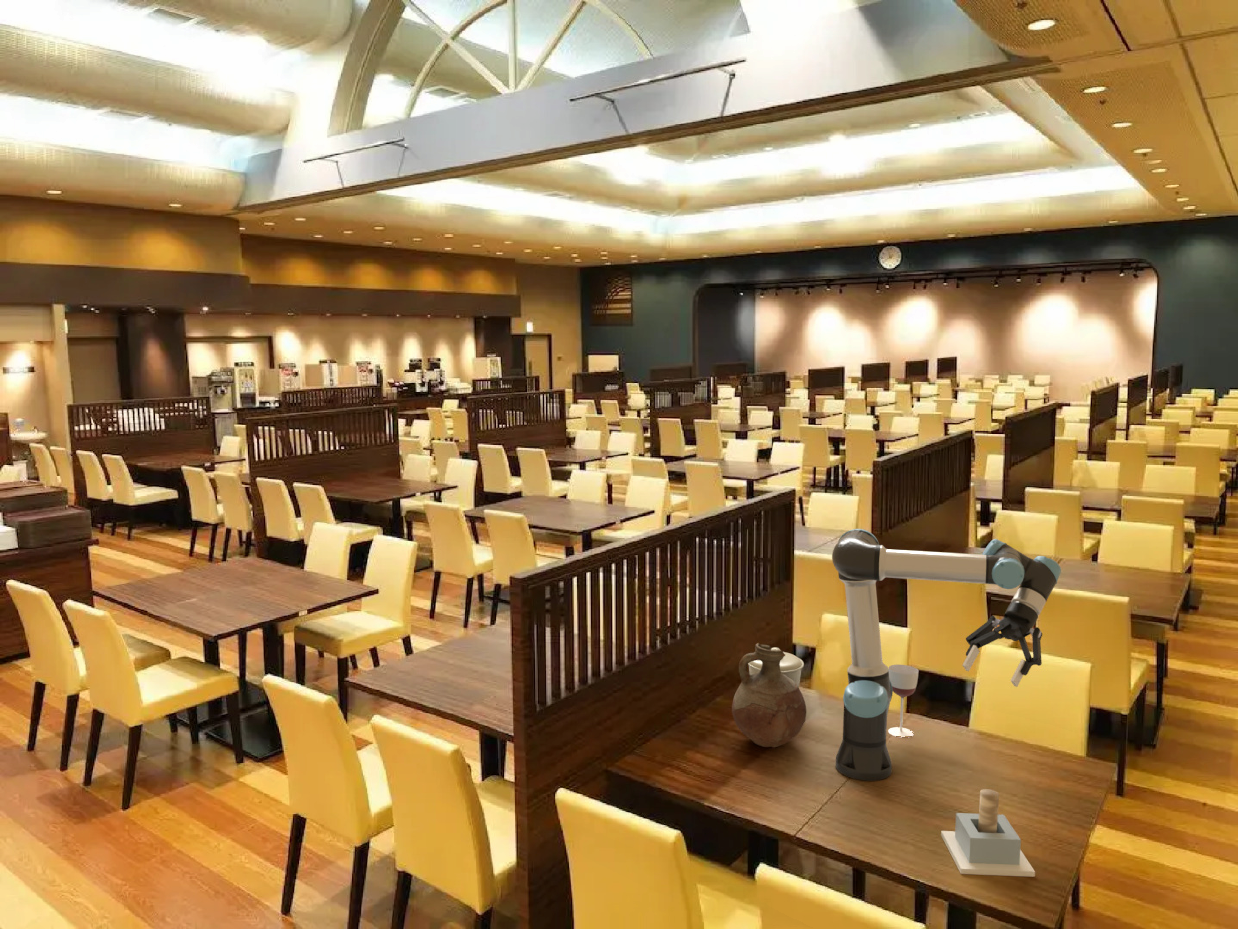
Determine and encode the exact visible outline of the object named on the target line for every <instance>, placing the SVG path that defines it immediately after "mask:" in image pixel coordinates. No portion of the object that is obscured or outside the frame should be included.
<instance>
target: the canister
mask: <svg viewBox="0 0 1238 929" xmlns="http://www.w3.org/2000/svg"><path fill="white" fill-rule="evenodd" d="M770 648H771V650H774V651H781V649H780V648H779V647H775V646H774V647H770ZM783 653H784V654H785V656H784V657H783V659H782V660H781V661H780V670H781V673H782V674H784V675H786V676H787V677H789V678H790V679H792V680H793V681H794V682H796V683H797V685H798V687H799V688H800V682H801V675H802V674H801V673H802V669H803V668H804V665H805V663H804V661H803V660H802V659H801V658H800V657H798V656H796V655H794V654H792V653H789V652H785V651H783ZM747 666H748V673H749V674H753V673H756V672H759V671H760V670H761V667H762V661H760V660H755V661H752V662H749V663H748V664H747Z"/></svg>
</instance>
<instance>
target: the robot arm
mask: <svg viewBox="0 0 1238 929" xmlns="http://www.w3.org/2000/svg"><path fill="white" fill-rule="evenodd" d="M831 560H832V564H833V566H834V567H835V570H836V571H837V573H838V579H839V581H841V583H843V584H844V592H845V600H846V601H845V603H846V610H847V611H846V613H847V621H848V622H847V623H848V633H849V635H848V636H849V643H850V646H849V647H850V656H851V664H850V665H849V666H848V667H847V678H848V681H847V682H848V685H846V687H845V688H844V693H843V695H842V696H843V698H842V699H843V700H842V701H843V715H842V716H843V717H842V720H843V722H842V740H841V742H840V745H839V748H838V751H837V753H836V756H835V768H836V770H837V771H838V772H839V773H840V774H842V775H844V776H846V777H848V778H851V779H853V780H854V779H855V780H859V781H864V782H865V781H868V782H869V781H871V782H873V781H881V780H884V779H886V778H889V777H890V776H891V774H892V770H893V769H892V768H893V765H892V760H891V756H890V754H889V751H888V750H889V749H888V747H887V730H888V729H887V728H888V726H887V724H888V714H889V708H890V704H891V701H892V697H893V693H894V692H893V690H892V685H891V682H890V679H889V666H887V665H886V664H885V663H884V662H883V652H882V642H881V631H880V621H879V620H880V619H879V618H880V617H879V609H878V597H877V596H878V595H877V586H876V583H877V582H878V581H883V580H884V579H885V578H890V579H891V578H893V579H907V580H908V579H909V580H923V581H924V580H925V581H937V582H938V581H939V582H954V583H969V584H972V583H973V584H983V585H984V584H986V585H997V586H998V587H1000V588H1002V589H1003V590H1013V589H1015V588H1017V587H1018V588H1017V590H1016V592H1015V594H1014V595H1013V598H1012V599H1011V602H1010V603H1009V605H1008V606H1007V608H1006V610H1005V612H1004V615H1003V618H1001V619H998V618H996V617H995V616H994V615H991V616H990V617H989V619H988V620H987V621H986V622H985V623H983V624H982V625H981V626H980V627H978V628H977V629H976V630H974V631H973V632H972V633H970V634H969V635H967V636H966V637H965V640H966V643H967V644H968V645H969V646H968V648H967V651H966V652H965V656H966V657H965V660H964V661H963V663H962V667H963V668H964V670H965V671H966V672H969V671H970V670H971V668H972V667H973V664H974V663H975V660H976V659H977V657H978V655H979V653H980V648H982V647H984V646H986V645H989V644H990V643H993V642H994V641H996V640H998V639H999V640H1002V639H1004V638H1005V639H1006V640H1011V641H1014V642H1017V641H1018V642H1019V645H1020V648H1021V650H1022V653H1023V656H1024V658H1023V659H1022V658H1021V659H1020V662H1019V664H1018V666H1017V667H1016V669H1015V671H1014V673H1013V675H1012V677H1011V679H1010V682H1011V683H1012V685H1013V687H1016V688H1017V687H1019V684H1020V682H1021V680H1022V679H1023V677H1024V676H1027V675H1028V674H1029V672H1030V670H1031V668H1032V666H1035V665H1036V666H1042V663H1043V662H1042V647H1041V645H1042V644H1041V639H1042V637H1043V633H1042V630H1041V629H1040V628H1039V627H1036V626H1035V625H1036V623H1037V620H1038V619H1039V616H1040V615H1041V612H1042V611H1043V609H1044V607H1045V605H1046V603H1047V601H1048V599H1049V598H1050V595H1051V594H1052V592H1053V589H1054V588H1055V587H1056V585H1057V583H1058V581H1059V578H1060V576H1061V573H1062V567H1061V566H1060V565H1059V563H1058V562H1057V561H1056V560H1054V559H1052V558H1051V557H1049V558H1048V557H1047V556H1044V555H1038V556H1036V557H1034V559H1033V558H1031V557H1029V556H1027V555H1026V554H1023V553H1022V552H1021V551H1019V550H1017V549H1016V548H1014V547H1012V546H1010V545H1009V544H1008V543H1006V542H1003V541H1002V540H999V539H998V538H994V539H992V540H991V541H990V542H988V544H987V546H986V547H985V549H984V550H983V552H982V554H978V553H977V554H976V553H961V552H960V553H959V552H945V551H944V552H943V551H942V552H940V551H927V550H926V551H925V550H910V549H909V550H907V549H888V548H886V547H885V546H884V545H883V544H880V543H879V541H878V539H877V537H876V536H875V535H874V534H873V533H872V532H871V531H869V530H866V529H862V528H853V529H850V530H848V531H846V532H844V533H843V534H842V535H841V536H840V537H839V538H838V541H837V543H836V544H835V545H834V547H833V549H832V554H831ZM1034 626H1035V628H1034ZM1029 635H1031V637H1032V638H1031V639H1032V654H1031V652H1030V649H1029V646H1028V643H1027V639H1026V637H1028V636H1029Z"/></svg>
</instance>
